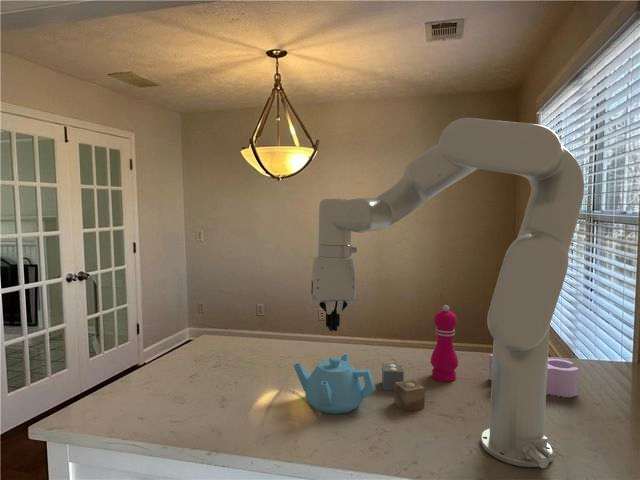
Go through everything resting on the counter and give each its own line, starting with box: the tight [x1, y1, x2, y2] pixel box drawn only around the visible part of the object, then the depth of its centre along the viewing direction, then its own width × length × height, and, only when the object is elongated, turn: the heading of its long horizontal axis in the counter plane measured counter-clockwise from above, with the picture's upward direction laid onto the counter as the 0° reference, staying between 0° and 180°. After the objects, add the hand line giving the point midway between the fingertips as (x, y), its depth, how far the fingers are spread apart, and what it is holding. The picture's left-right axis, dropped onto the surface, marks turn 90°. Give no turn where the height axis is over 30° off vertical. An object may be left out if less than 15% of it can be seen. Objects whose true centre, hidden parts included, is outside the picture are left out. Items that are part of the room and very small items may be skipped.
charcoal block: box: [381, 363, 405, 391], centre depth 112 cm, size 5×5×5 cm
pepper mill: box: [430, 304, 459, 382], centre depth 118 cm, size 7×7×20 cm
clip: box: [488, 353, 580, 398], centre depth 112 cm, size 20×12×7 cm, turn 78°
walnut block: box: [393, 379, 426, 413], centre depth 101 cm, size 5×5×5 cm
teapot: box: [293, 353, 377, 415], centre depth 102 cm, size 15×15×11 cm
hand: (332, 329), depth 102 cm, fingers closed
